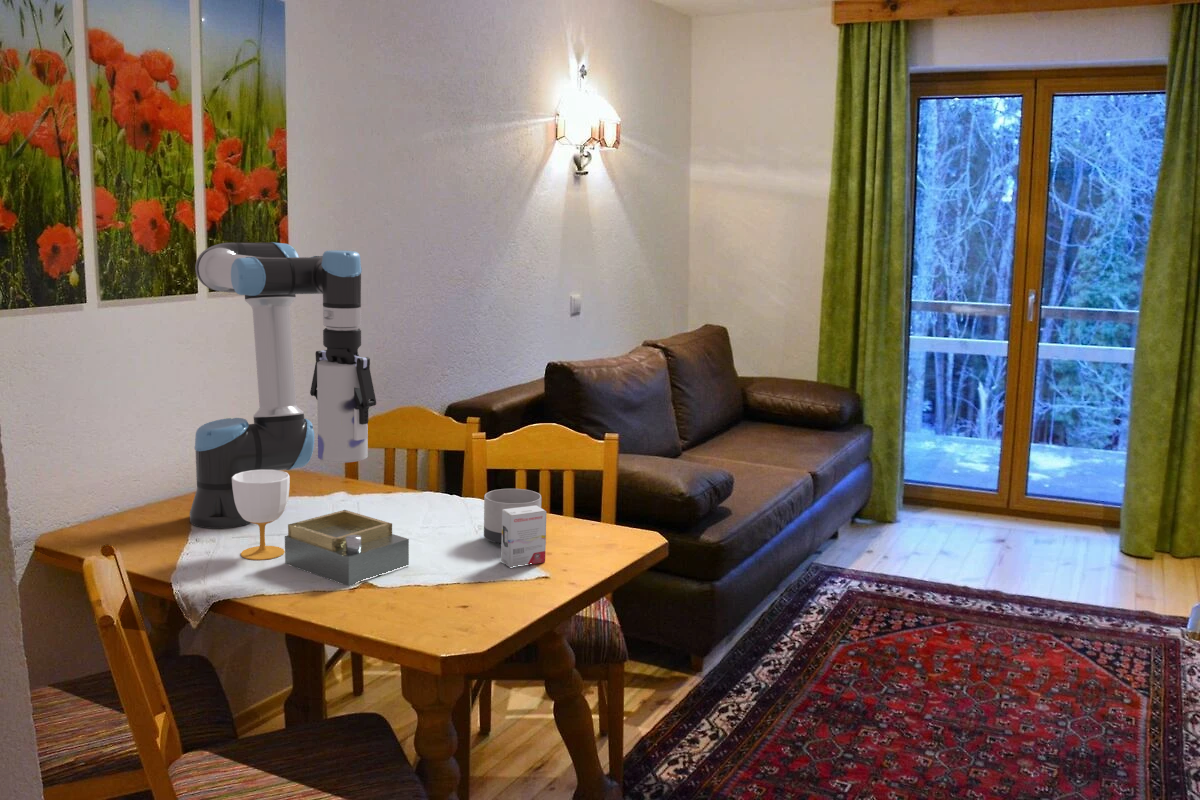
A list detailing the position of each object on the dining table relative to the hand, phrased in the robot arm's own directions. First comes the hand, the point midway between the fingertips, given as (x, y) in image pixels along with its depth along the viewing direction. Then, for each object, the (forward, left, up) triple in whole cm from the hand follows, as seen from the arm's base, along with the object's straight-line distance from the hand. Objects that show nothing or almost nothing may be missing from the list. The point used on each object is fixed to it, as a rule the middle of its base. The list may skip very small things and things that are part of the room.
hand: (342, 435), depth 226 cm
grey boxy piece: (+2, -1, -27) cm, 28 cm away
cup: (-17, -8, -28) cm, 33 cm away
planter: (+16, +35, -28) cm, 48 cm away
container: (0, 0, -5) cm, 5 cm away
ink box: (+28, +25, -28) cm, 47 cm away
